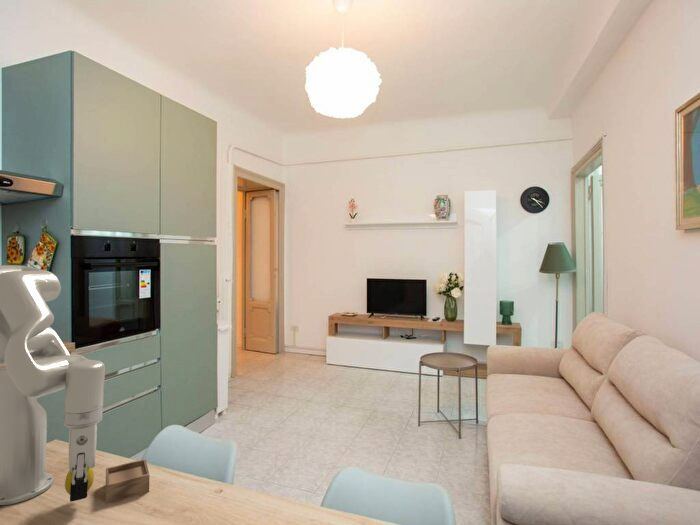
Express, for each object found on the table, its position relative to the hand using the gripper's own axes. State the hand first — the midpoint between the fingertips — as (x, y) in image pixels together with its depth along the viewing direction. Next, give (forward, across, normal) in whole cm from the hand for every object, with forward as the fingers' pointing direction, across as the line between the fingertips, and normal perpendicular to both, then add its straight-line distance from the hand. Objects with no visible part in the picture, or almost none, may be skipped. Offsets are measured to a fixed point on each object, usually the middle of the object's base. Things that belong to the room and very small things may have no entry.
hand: (79, 490), depth 90 cm
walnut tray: (+3, +2, -10) cm, 11 cm away
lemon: (+2, 0, 0) cm, 2 cm away
